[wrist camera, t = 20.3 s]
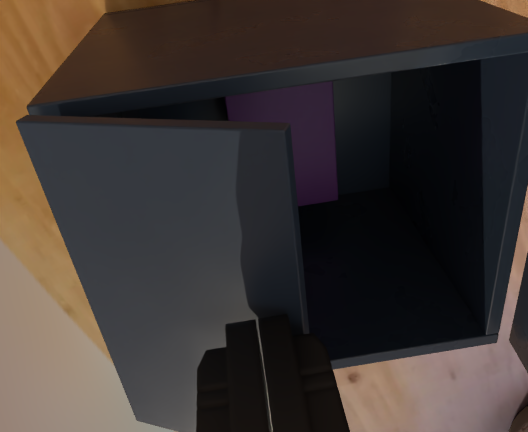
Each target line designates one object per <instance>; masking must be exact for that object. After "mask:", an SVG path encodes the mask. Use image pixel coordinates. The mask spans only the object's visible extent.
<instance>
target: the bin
mask: <svg viewBox="0 0 528 432" xmlns="http://www.w3.org/2000/svg"><path fill="white" fill-rule="evenodd" d="M329 81H333V97H334V119H335V140H336V161H337V182H338V200H335V201H329V202H323V203H316V204H310V205H304V206H298V214H299V224H300V235H301V246H302V257H303V268H304V279H305V290H306V301H307V312H308V323H309V333H314V334H315V335H316V336H317V338H318V339H319V340H320V341H321V342H322V343H323V344H324V346H325V347H326V348H327V351H328V354H329V358H330V362H331V365H332V370H333V369H339V368H345V367H351V366H357V365H363V364H370V363H376V362H382V361H388V360H394V359H400V358H406V357H412V356H419V355H425V354H431V353H437V352H443V351H449V350H455V349H461V348H467V347H474V346H480V345H486V344H492V343H496V342H497V339H498V333H499V329H500V324H501V319H502V314H503V309H504V304H505V299H506V293H507V288H508V283H509V278H510V273H511V268H512V263H513V257H514V252H515V247H516V242H517V237H518V232H519V227H520V221H521V216H522V211H523V206H524V201H525V196H526V191H527V186H528V18H526V17H524V16H521V15H518V14H515V13H513V12H510V11H507V10H505V9H502V8H499V7H496V6H494V5H491V4H488V3H485V2H483V1H480V0H195V1H188V2H181V3H174V4H167V5H160V6H153V7H146V8H139V9H132V10H125V11H117V12H110V13H105V14H104V15H103V16H102V17H101V18H100V19H99V20H98V22H97V23H96V24H95V25H94V26H93V28H92V29H91V30H90V31H89V32H88V34H87V35H86V36H85V37H84V38H83V40H82V41H81V42H80V43H79V44H78V46H77V47H76V48H75V49H74V50H73V52H72V53H71V54H70V55H69V56H68V57H67V59H66V60H65V61H64V62H63V63H62V65H61V66H60V67H59V68H58V69H57V71H56V72H55V73H54V74H53V75H52V77H51V78H50V79H49V80H48V81H47V83H46V84H45V85H44V86H43V87H42V89H41V90H40V91H39V92H38V93H37V94H36V96H35V97H34V98H33V99H32V100H31V102H30V103H29V104H28V105H27V110H28V112H29V115H41V116H74V117H107V118H140V119H173V120H206V121H228V116H227V110H226V104H225V99H224V97H227V96H234V95H241V94H247V93H254V92H261V91H268V90H275V89H281V88H288V87H295V86H302V85H309V84H315V83H322V82H329ZM509 341H510V343H511V345H512V346H513V348H514V350H515V352H516V353H517V355H518V357H519V359H520V360H521V362H522V364H523V366H524V367H525V369H526V371H527V373H528V253H527V258H526V263H525V267H524V272H523V277H522V281H521V286H520V291H519V296H518V300H517V305H516V310H515V314H514V319H513V324H512V329H511V333H510V338H509Z"/></svg>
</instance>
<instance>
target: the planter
mask: <svg viewBox="0 0 528 432" xmlns="http://www.w3.org/2000/svg"><path fill="white" fill-rule="evenodd" d="M509 432H528V406H526V407H525V408H524V409H523V410H522V411H521V412H520V413H519V414H518V415H517V416H516V418H515V419H514V421H513V422H512V424H511V427H510V430H509Z"/></svg>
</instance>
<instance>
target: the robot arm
mask: <svg viewBox="0 0 528 432" xmlns="http://www.w3.org/2000/svg"><path fill="white" fill-rule="evenodd" d="M258 324H259V331H260V339H261V347H262V354H263V361H262V355H261V349H260V343H259V337H258V331H257V325H256V320H255V319H254V320H247V321H241V322H235V323H228V324H225V334H226V347H222V348H216V349H210V350H206V351H205V353H204V355H203V358H202V360H201V362H200V364H199V366H198V368H197V411H196V432H272V429H273V432H350V430H349V427H348V423H347V419H346V416H345V412H344V408H343V405H342V401H341V398H340V394H339V390H338V387H337V383H336V380H335V376H334V372H333V370H332V365H331V362H330V358H329V354H328V351H327V348H326V347H325V346H324V344H323V343H322V342H321V341H320V340H319V339H318V338H317V336H316V335H315V334H314V333H309V334H302V335H296V336H292V332H291V327H290V322H289V318H288V314H284V315H278V316H271V317H265V318H259V319H258ZM263 362H264V367H263ZM264 369H265V373H264ZM265 377H266V380H265ZM266 384H267V387H266ZM267 392H268V394H267ZM268 399H269V402H268ZM269 407H270V410H269ZM270 414H271V417H270ZM271 422H272V425H271Z"/></svg>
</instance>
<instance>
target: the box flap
mask: <svg viewBox="0 0 528 432" xmlns="http://www.w3.org/2000/svg"><path fill="white" fill-rule="evenodd" d="M16 124H17V126H18V129H19V131H20V134H21V136H22V139H23V141H24V144H25V146H26V149H27V151H28V153H29V156H30V158H31V161H32V163H33V166H34V168H35V171H36V173H37V176H38V178H39V181H40V183H41V186H42V188H43V190H44V193H45V195H46V198H47V200H48V203H49V205H50V208H51V210H52V213H53V215H54V218H55V220H56V223H57V225H58V227H59V230H60V232H61V235H62V237H63V240H64V242H65V245H66V247H67V250H68V252H69V255H70V257H71V260H72V262H73V264H74V267H75V269H76V272H77V274H78V277H79V279H80V282H81V284H82V287H83V289H84V292H85V294H86V296H87V299H88V301H89V304H90V306H91V309H92V311H93V314H94V316H95V319H96V321H97V324H98V326H99V329H100V331H101V333H102V336H103V338H104V341H105V343H106V346H107V348H108V351H109V353H110V356H111V358H112V361H113V363H114V366H115V368H116V370H117V373H118V375H119V378H120V380H121V383H122V385H123V388H124V390H125V393H126V395H127V398H128V400H129V403H130V405H131V407H132V410H133V412H134V415H135V417H136V420H137V421H140V422H145V423H148V424H152V425H155V426H159V427H163V428H166V429H170V430H174V431H178V432H196V411H197V368H198V366H199V364H200V362H201V360H202V358H203V355H204V353H205V351H206V350H210V349H216V348H222V347H226V334H225V324H228V323H235V322H241V321H247V320H254V319H255V320H256V325H257V331H258V337H259V343H260V349H261V355H262V361H263V354H262V347H261V339H260V331H259V324H258V319H259V318H265V317H271V316H278V315H284V314H288V318H289V322H290V327H291V332H292V336H296V335H302V334H309V323H308V312H307V301H306V290H305V279H304V268H303V257H302V246H301V235H300V224H299V214H298V203H297V192H296V181H295V170H294V159H293V148H292V137H291V126H290V123H273V122H240V121H206V120H173V119H140V118H107V117H74V116H41V115H26V116H24V117H23V118H21V119H19V120H17V121H16ZM263 367H264V362H263ZM264 373H265V369H264ZM265 380H266V377H265ZM266 387H267V384H266ZM267 394H268V392H267ZM268 402H269V399H268ZM269 410H270V407H269ZM270 417H271V414H270ZM271 425H272V422H271ZM272 432H273V429H272Z"/></svg>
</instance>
